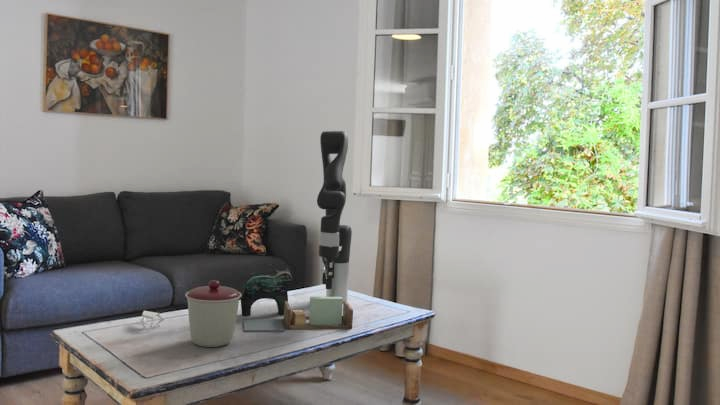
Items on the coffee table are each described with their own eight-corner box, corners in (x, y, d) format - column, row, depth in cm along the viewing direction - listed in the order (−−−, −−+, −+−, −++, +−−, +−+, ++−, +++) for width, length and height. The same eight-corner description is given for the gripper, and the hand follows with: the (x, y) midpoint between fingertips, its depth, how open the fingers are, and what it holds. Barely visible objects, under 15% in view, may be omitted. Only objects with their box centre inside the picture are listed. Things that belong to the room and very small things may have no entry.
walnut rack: (283, 318, 247) (284, 300, 246) (345, 318, 252) (346, 300, 251) (287, 329, 233) (288, 310, 232) (352, 328, 238) (353, 310, 237)
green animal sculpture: (289, 311, 257) (291, 262, 255) (292, 315, 251) (294, 265, 249) (239, 313, 251) (241, 262, 249) (241, 317, 245) (243, 265, 243)
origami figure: (169, 328, 227) (170, 314, 226) (149, 332, 220) (149, 318, 220) (150, 320, 234) (150, 307, 234) (129, 325, 228) (129, 311, 227)
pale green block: (308, 322, 243) (310, 296, 242) (340, 322, 246) (341, 296, 245) (310, 324, 240) (311, 298, 239) (341, 324, 243) (342, 298, 242)
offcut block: (290, 321, 244) (290, 309, 244) (301, 321, 245) (302, 309, 245) (294, 327, 236) (295, 315, 236) (306, 326, 238) (307, 315, 237)
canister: (251, 342, 215) (253, 280, 213) (210, 355, 200) (212, 289, 198) (213, 331, 225) (215, 272, 223) (172, 342, 210) (173, 279, 208)
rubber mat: (243, 320, 240) (243, 319, 240) (280, 320, 243) (280, 319, 243) (244, 331, 227) (244, 330, 227) (284, 331, 230) (284, 329, 230)
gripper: (316, 240, 247) (314, 282, 248) (322, 246, 233) (319, 290, 234) (335, 241, 248) (333, 282, 249) (342, 247, 234) (339, 290, 235)
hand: (326, 286), depth 242 cm, fingers open, 8 cm apart
